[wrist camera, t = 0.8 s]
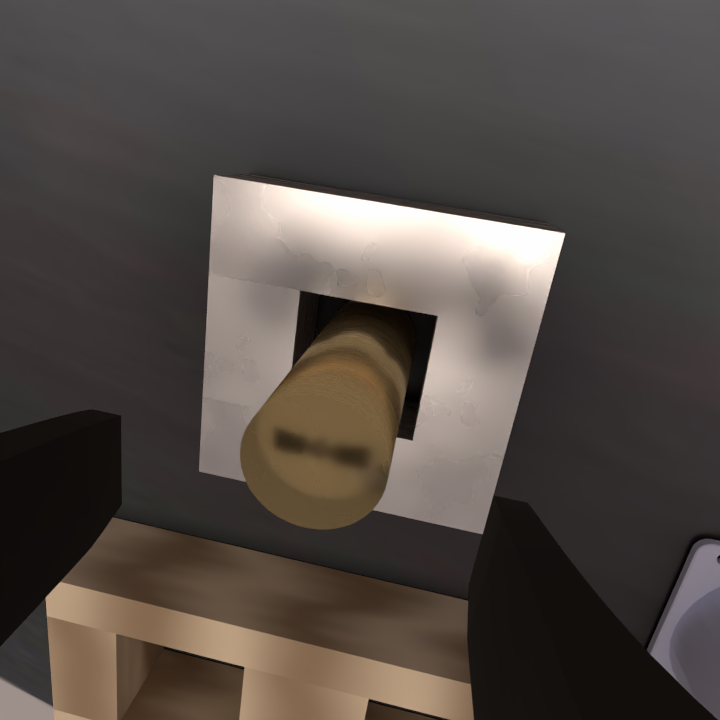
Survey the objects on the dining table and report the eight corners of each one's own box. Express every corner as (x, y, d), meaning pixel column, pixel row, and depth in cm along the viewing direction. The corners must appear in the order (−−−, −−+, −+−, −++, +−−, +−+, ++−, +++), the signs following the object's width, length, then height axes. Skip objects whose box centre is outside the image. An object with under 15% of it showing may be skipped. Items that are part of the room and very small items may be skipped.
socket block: (547, 222, 18) (565, 233, 15) (478, 485, 21) (482, 534, 18) (249, 173, 19) (213, 175, 16) (230, 432, 22) (199, 471, 19)
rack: (583, 627, 23) (608, 718, 19) (527, 773, 26) (540, 875, 22) (106, 515, 25) (44, 578, 21) (109, 662, 28) (55, 739, 24)
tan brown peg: (423, 305, 19) (400, 412, 11) (407, 388, 20) (375, 543, 12) (334, 288, 20) (245, 381, 11) (323, 371, 21) (235, 511, 12)
